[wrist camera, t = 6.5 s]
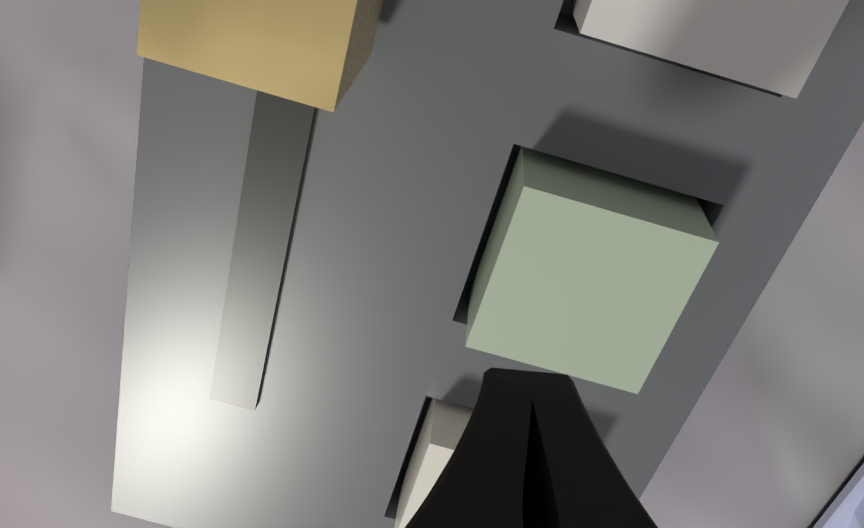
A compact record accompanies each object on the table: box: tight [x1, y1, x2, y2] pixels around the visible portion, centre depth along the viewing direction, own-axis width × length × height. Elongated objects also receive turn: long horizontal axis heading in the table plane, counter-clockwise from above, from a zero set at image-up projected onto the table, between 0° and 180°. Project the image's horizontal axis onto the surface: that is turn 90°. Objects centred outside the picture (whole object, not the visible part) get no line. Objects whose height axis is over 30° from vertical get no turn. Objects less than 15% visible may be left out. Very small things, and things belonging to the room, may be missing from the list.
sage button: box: [465, 146, 719, 394], centre depth 17 cm, size 4×4×2 cm
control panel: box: [111, 0, 864, 528], centre depth 18 cm, size 14×24×3 cm, turn 165°
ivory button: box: [394, 398, 474, 528], centre depth 20 cm, size 4×4×2 cm
